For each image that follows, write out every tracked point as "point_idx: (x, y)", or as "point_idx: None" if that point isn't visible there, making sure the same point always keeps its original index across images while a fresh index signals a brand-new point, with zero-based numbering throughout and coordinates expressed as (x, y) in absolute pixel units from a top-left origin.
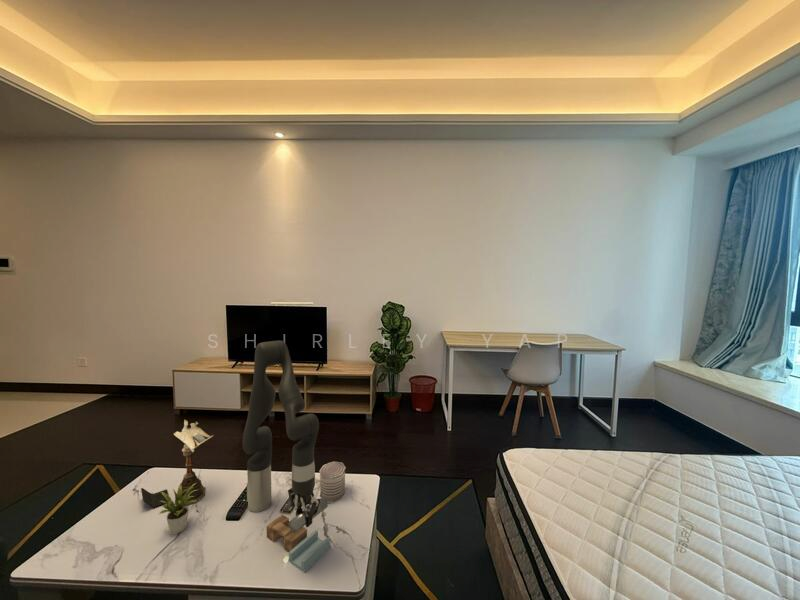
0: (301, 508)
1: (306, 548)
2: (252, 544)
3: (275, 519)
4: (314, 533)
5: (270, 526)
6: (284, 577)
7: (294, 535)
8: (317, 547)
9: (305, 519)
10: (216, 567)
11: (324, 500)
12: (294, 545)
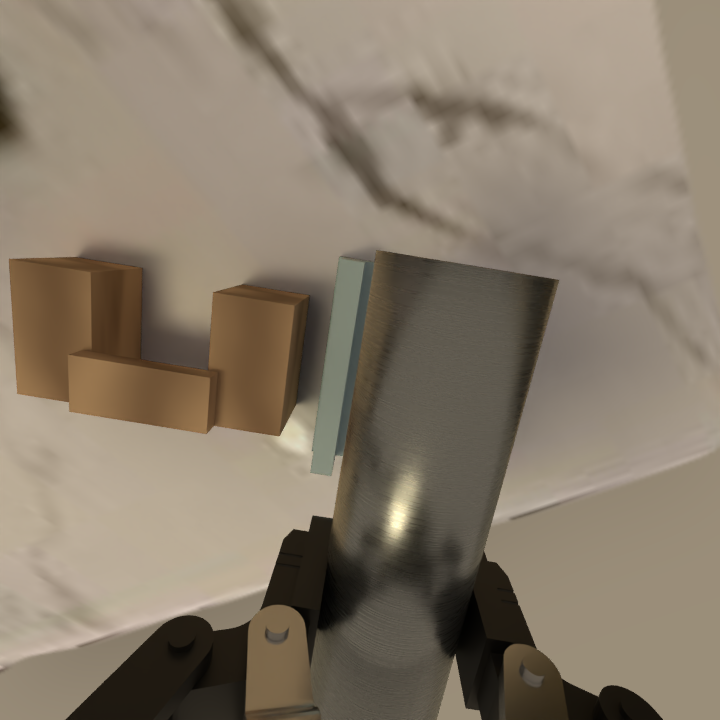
0: (304, 614)
1: (356, 361)
2: (58, 433)
3: (15, 323)
4: (356, 292)
5: (48, 389)
6: None
7: (257, 387)
8: None
9: (459, 668)
10: (45, 580)
11: (528, 315)
12: (290, 397)
